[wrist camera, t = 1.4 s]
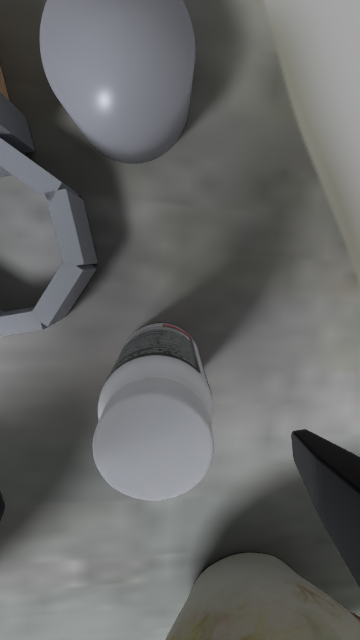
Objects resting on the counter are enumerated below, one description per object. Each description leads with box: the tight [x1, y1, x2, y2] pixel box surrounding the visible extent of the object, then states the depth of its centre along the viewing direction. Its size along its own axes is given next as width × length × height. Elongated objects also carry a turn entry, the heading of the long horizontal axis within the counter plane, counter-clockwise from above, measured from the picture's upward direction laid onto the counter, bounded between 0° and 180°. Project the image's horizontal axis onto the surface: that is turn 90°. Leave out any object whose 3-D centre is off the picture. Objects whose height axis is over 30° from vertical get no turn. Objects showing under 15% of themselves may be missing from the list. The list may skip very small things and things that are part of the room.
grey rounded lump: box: [40, 0, 195, 164], centre depth 13 cm, size 6×6×4 cm
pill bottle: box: [93, 323, 214, 501], centre depth 13 cm, size 5×5×8 cm
